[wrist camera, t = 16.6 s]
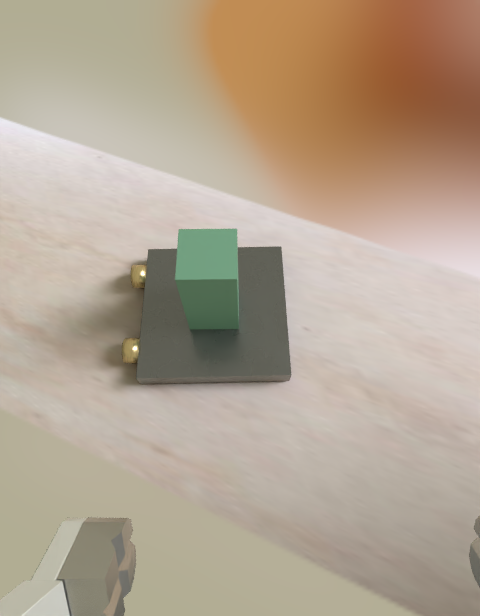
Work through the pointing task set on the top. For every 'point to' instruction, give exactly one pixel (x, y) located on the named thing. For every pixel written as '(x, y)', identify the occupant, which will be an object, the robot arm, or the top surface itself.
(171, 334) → the level base plate
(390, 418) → the top surface
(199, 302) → the block
